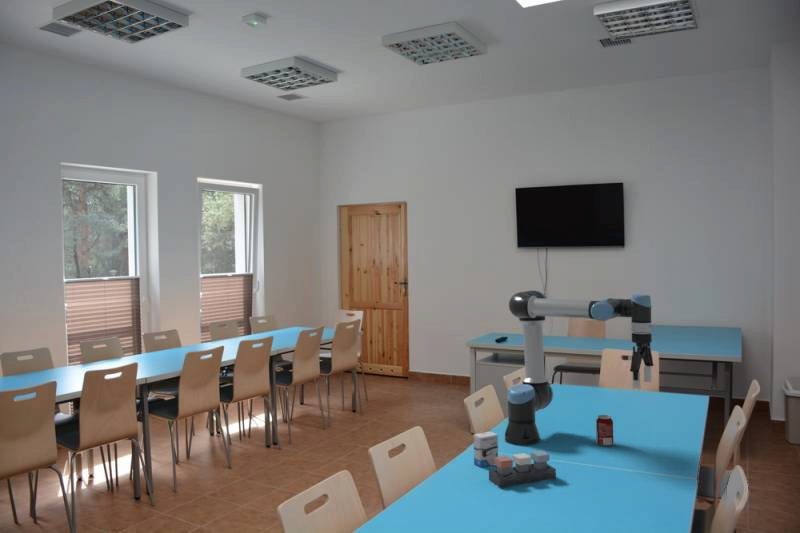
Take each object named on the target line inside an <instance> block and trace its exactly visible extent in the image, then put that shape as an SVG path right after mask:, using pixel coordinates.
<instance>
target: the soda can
mask: <svg viewBox="0 0 800 533" xmlns="http://www.w3.org/2000/svg"><path fill="white" fill-rule="evenodd" d="M613 420H614V419H612V416H611V415H608V414H607V415H606V414H599V415H597V418H596V421H595V422H596V423H595V425H596V426H595V427H596V429H595V430H596V431H595V432H596V433H595V434H596V444H598V446H601V447H607V448H608V447H612V446H613V445H614V421H613Z"/></svg>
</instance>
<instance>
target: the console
mask: <svg viewBox="0 0 800 533" xmlns="http://www.w3.org/2000/svg"><path fill="white" fill-rule="evenodd" d="M554 479H557V469H556V468H555V467H553V466H551V465H549V464H548V463H547V469H542V470H538V469H536V468H535V467H534V463H531V464H529V472H523V473H520V472H518V471H517V470H516V466H513V467H510V475H504V476H501V475H500V474H499V473H497V469H496V468H495V469H491V470H488V481H489V480H490V482H491V483H492V482H493V483H494V484H493V485H495V486H496V485H497V486H498V488H499V489H501V488H500V487H502V488H507V487H511V486H512V487H513V486H519V485H520V486H521V485H526V484H530V483H532V484H533V483H536V482H537V483H538V482H543V481H550V480H554ZM497 486H496V487H497Z"/></svg>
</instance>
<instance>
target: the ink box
mask: <svg viewBox="0 0 800 533" xmlns="http://www.w3.org/2000/svg"><path fill="white" fill-rule="evenodd" d="M498 435H499V434H497V433H494V432H493V431H486V432H480V433H475V434H473V460H474V461H473V463H474V465H475V466H477V467H480V468H485V466H486V467H489V466H494V464H495V461H494V457H499V443H498V442H499V436H498Z"/></svg>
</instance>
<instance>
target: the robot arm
mask: <svg viewBox="0 0 800 533" xmlns="http://www.w3.org/2000/svg"><path fill="white" fill-rule="evenodd" d="M508 309H509V311H510V314H512V315H513V316H514V317H516V318H518V320H519V322H520V323H521V324H522V327H523V328H522V332H523V333H522V334H523V352H524V354H523V355H524V369H525V370H524V372H525V376H524V377H523V379H522V380H521V381H522V382H521V383H522V384H521V383H520V384H515V385H512V386H510V387H509V388H508V390H507V396H506V397H507V418H508V420H507V422H508V423H507V426H506V429H505V433H504V441H505V442H506V443H508V444H512V445H518V446H531V445H535V444H539V443H540V440H541V436H540V432H539V429H538V427H537V424H536V412H538V411H540V410H543V409H545V408H547V407H548V406H550V404H551V403H552V402H553V399H554V391H553V388H552V387H551V386H550V384H549V379H548V377H546V372H545V358H544V357H545V356H544V335H543V323H544V322H545V321H546V317H551V318H567V319H568V318H569V319H585V320H586V319H587V320H595V321H598V322H605V321H606V322H607V321H608V320H612V319H616V318H631V323H630V326H631V332H632V333H631V342H632V343H634V344H636V345H634V346H633V347H632V356H631V361H630V369H629V371H630V372H631V373H632V388H633V389H641V372H640V369H641V365H642V360H643V364H644V365H643V383H644V382H645V383H652V367H654V361H653V354H652V350H651V343H652V342H653V338H652V333H651V332H652V328H653V324H652V299H651V296H650V295H649V294H643V293H642V294H641V293H639V294H636V293H635V294H631V296H630V298H603V299H602V300H581V299H564V298H562V299H561V298H559V299H558V298H548V297H547V296H546V295H545V294H544V293H543V292H541V291H539V290H533V289H532V290H527V291H520V292H517V293H514V294H513V295H512V296H511V297H510V299H509V303H508Z"/></svg>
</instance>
